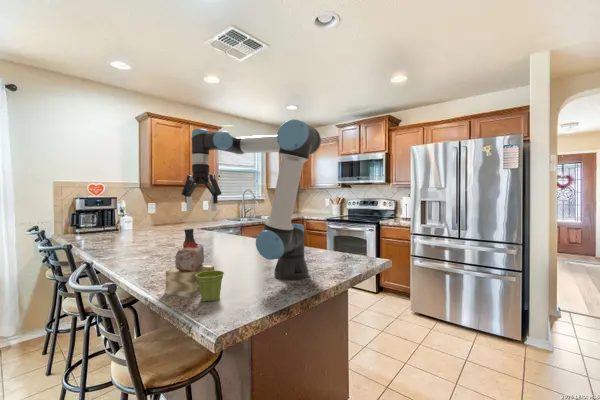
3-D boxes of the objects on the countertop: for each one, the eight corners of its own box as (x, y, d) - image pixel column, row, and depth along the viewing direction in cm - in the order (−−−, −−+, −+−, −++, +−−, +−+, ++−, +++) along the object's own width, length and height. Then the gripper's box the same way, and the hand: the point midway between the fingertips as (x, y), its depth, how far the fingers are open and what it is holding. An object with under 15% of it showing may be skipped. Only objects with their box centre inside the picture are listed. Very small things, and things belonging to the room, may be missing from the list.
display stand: (215, 285, 115) (215, 265, 115) (190, 297, 102) (190, 274, 102) (191, 282, 119) (190, 263, 119) (164, 293, 106) (164, 271, 106)
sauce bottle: (200, 268, 143) (199, 227, 143) (194, 271, 137) (193, 229, 136) (187, 268, 144) (186, 227, 143) (180, 271, 137) (180, 229, 137)
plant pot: (191, 298, 101) (190, 273, 100) (216, 292, 107) (215, 268, 107) (203, 305, 94) (203, 279, 94) (229, 298, 100) (229, 273, 100)
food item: (196, 272, 104) (196, 245, 104) (173, 273, 103) (173, 245, 103) (205, 263, 118) (205, 239, 118) (185, 264, 117) (184, 240, 117)
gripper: (228, 163, 131) (229, 210, 132) (184, 166, 140) (185, 210, 140) (218, 162, 124) (219, 211, 125) (172, 164, 133) (173, 211, 133)
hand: (201, 210), depth 133 cm, fingers open, 13 cm apart
